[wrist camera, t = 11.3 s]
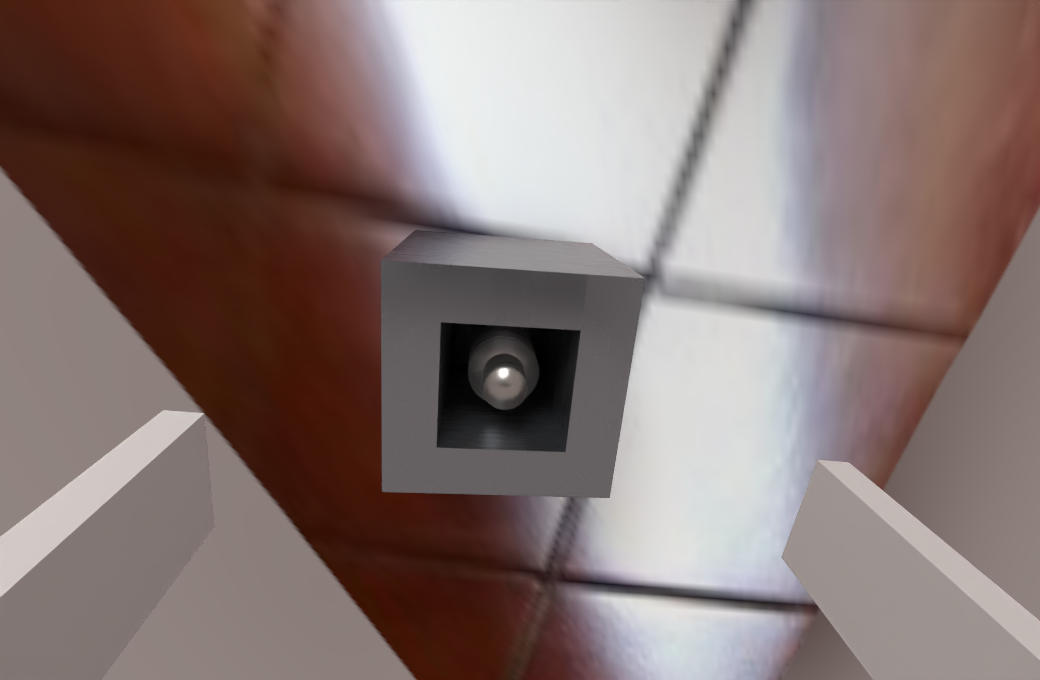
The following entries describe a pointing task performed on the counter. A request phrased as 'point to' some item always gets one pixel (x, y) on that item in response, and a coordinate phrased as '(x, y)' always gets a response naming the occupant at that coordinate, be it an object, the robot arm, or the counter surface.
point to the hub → (499, 360)
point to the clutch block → (562, 373)
